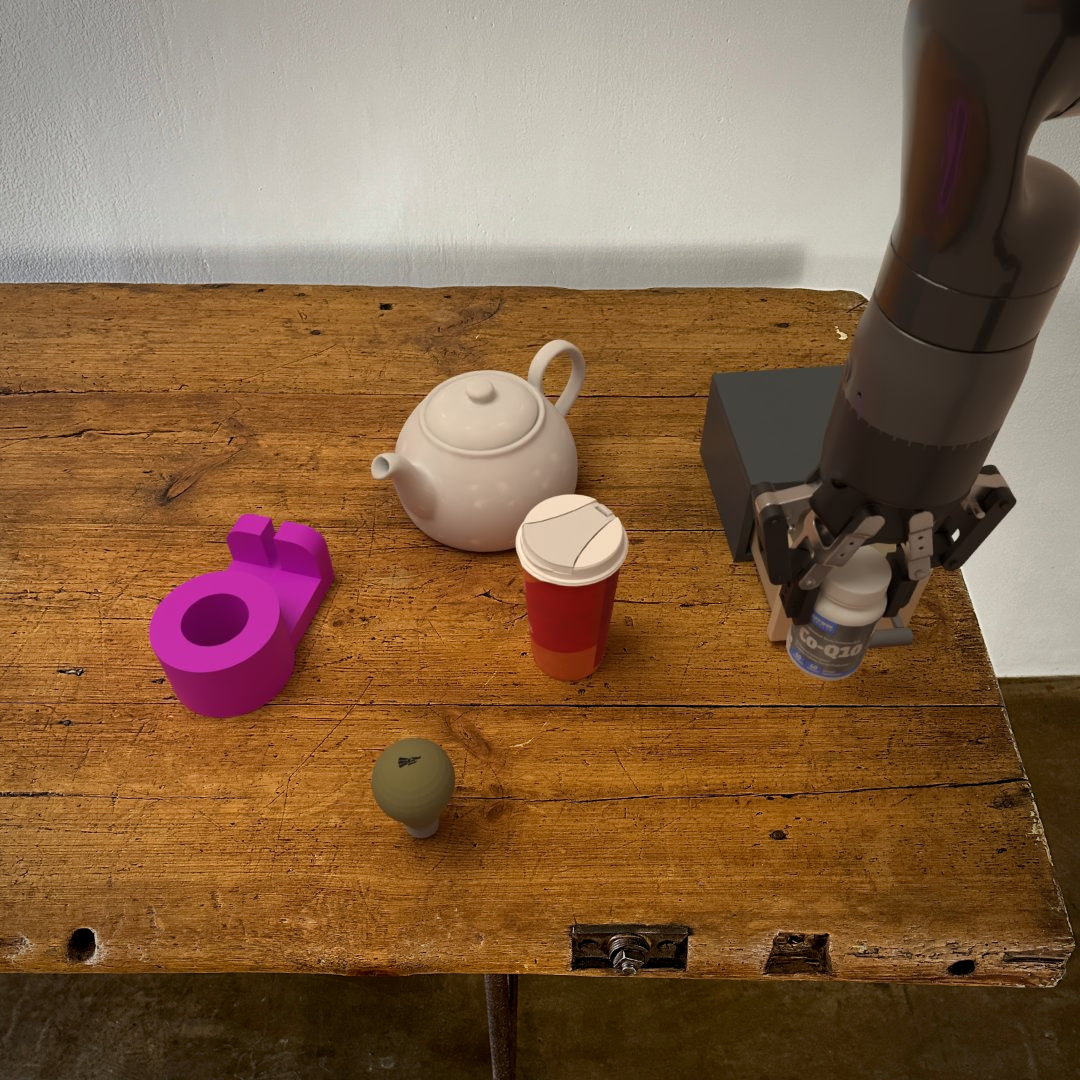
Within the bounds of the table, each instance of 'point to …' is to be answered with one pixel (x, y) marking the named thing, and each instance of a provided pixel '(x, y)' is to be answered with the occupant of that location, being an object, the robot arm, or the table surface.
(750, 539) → the storage drawer
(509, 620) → the table surface
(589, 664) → the coffee cup
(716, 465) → the cabinet
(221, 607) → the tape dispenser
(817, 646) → the pill bottle
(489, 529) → the teapot
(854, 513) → the robot arm
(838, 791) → the table surface
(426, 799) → the light bulb
